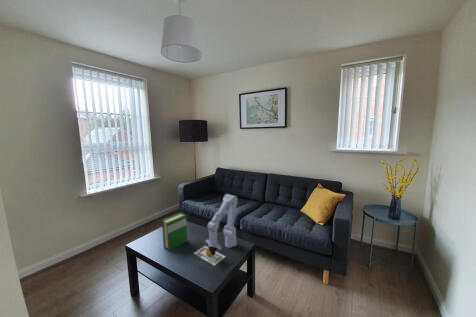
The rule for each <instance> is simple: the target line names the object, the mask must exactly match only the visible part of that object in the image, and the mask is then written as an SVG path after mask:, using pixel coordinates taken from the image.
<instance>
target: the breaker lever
mask: <svg viewBox="0 0 476 317" xmlns="http://www.w3.org/2000/svg"><path fill="white" fill-rule="evenodd" d="M206 255H207V256H208V257H209V256H211V255H212V254H211V251H210V249H209V248H208V249H206Z"/></svg>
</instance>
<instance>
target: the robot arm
mask: <svg viewBox="0 0 476 317" xmlns="http://www.w3.org/2000/svg"><path fill="white" fill-rule="evenodd" d="M238 199H239V198H238V197H237V195H232V194H229V193H225V194H224V196H223V198H222V203H221V205H220V207H219V210H218V211H217V212H215V214H214V215H213V217H212V219H211V221H209V222H208V223H207V226H206V228H207V230H208V238H207V239H205V243H206V244H208V247H209V249H210V251H211V254H212V255H215V252H217V249H218V250H222V245H221V244H220V243H219V242H218V230H219V226H220V222H221V220H222V219H223V217H224V215H223V214H224V212H225V211H226V209H227V208H228V207H229V209H228V216H227V222H226V224H225V225H224V227H223V230H222V234H223V236H224V245H225V247H226V248H233V247H236V246H238V244H237V235H236V234H237V229H236V226H235V224H234V223H235V216H236V210H237V206H238Z"/></svg>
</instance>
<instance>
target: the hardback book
mask: <svg viewBox="0 0 476 317" xmlns="http://www.w3.org/2000/svg"><path fill="white" fill-rule="evenodd" d="M161 223H162V224H161V225H162V240H163V249H165V248H166V249H167V250H168V252H170V251H172V250H174V249H176V248H178V247H179V246H181V245H183V244H184V243H186V242H188V229H187V228H188V227H187V214H185V213H182V212H179V213H176V214H174V215H171V216H169V217H166V218H164V219H162V220H161Z"/></svg>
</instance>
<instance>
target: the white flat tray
mask: <svg viewBox="0 0 476 317" xmlns="http://www.w3.org/2000/svg"><path fill="white" fill-rule="evenodd" d="M208 248H209V246H208V245H207V246H206V245H204V246H203V247H201V248H200V249H198V250H197V251H195V252H193V254H194V255H196V256H198V257H199V258H201V259H202V260H205V261H206V262H208V263H209V264H211V265H213V267H214V266H216V265H217V264H218V263H220V262H221V261H222V260H224V258H226V255H224V254H221V253H219V252H218V251H216V252H215V255H211V256H209V257H208V256H207V255H206V249H208Z"/></svg>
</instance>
